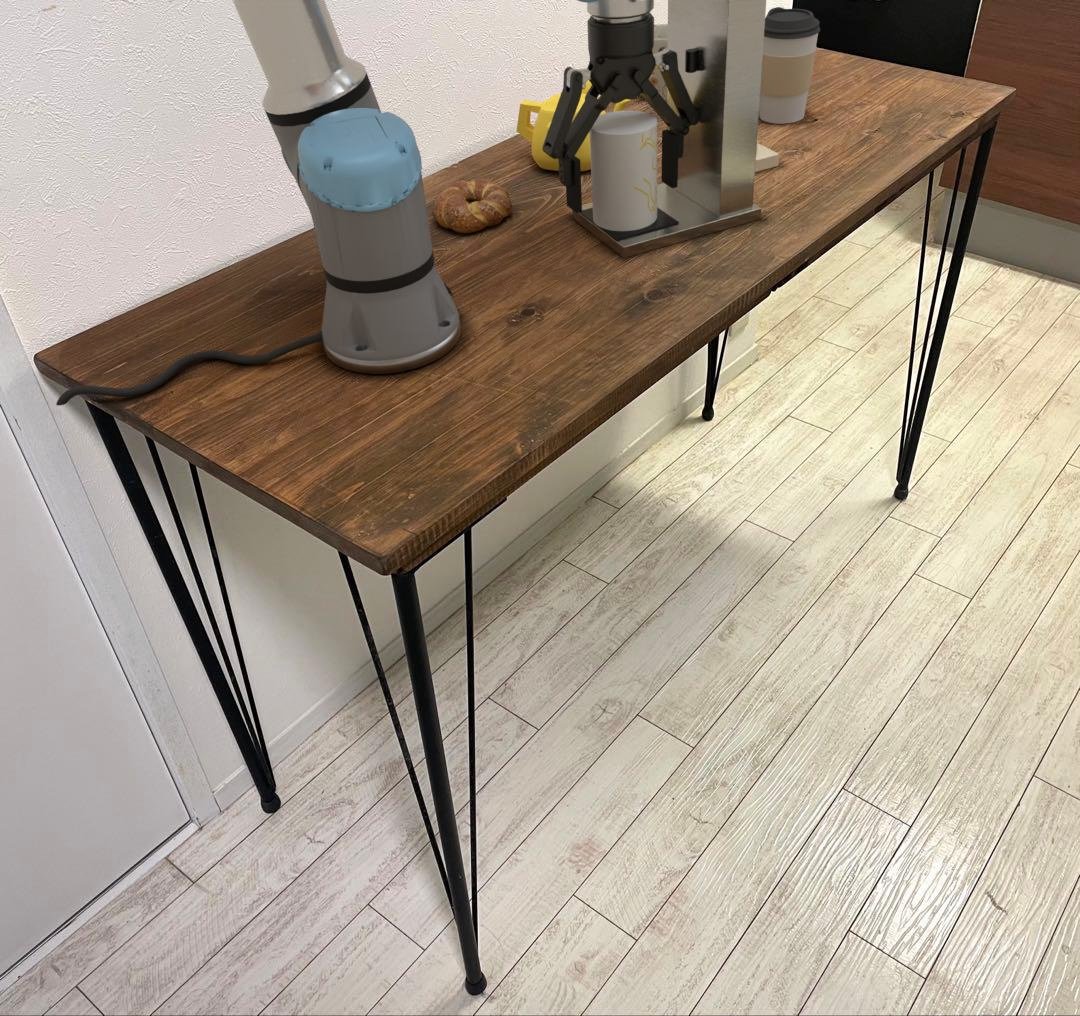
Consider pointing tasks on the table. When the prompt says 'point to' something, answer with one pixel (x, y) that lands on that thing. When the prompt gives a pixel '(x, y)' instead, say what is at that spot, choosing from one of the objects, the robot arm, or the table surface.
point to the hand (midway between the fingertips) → (622, 196)
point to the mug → (659, 42)
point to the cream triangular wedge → (765, 158)
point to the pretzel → (471, 205)
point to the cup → (624, 170)
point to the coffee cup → (787, 64)
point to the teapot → (542, 125)
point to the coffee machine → (707, 126)
